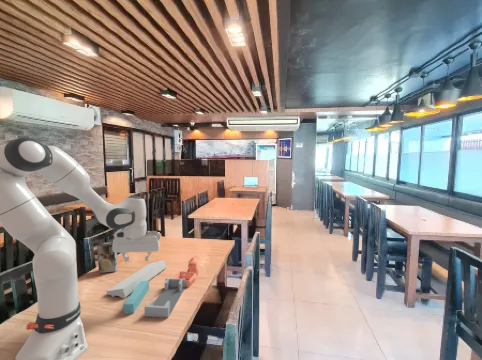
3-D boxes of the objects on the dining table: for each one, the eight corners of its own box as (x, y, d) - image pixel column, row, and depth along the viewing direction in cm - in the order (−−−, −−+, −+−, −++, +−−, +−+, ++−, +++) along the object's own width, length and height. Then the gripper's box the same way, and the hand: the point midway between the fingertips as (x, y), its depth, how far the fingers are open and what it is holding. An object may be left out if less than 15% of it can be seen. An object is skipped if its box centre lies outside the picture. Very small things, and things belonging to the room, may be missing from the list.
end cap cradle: (168, 319, 102) (168, 307, 102) (144, 318, 103) (144, 306, 103) (185, 288, 127) (185, 278, 127) (166, 287, 128) (166, 277, 127)
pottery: (188, 288, 127) (188, 270, 126) (171, 286, 129) (171, 268, 128) (202, 273, 144) (202, 256, 143) (187, 271, 147) (187, 255, 146)
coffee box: (118, 267, 151) (117, 241, 150) (115, 271, 145) (114, 244, 144) (101, 268, 149) (100, 242, 147) (98, 273, 142) (97, 246, 141)
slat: (133, 315, 105) (133, 304, 105) (124, 315, 105) (123, 304, 105) (149, 290, 125) (149, 280, 125) (141, 290, 125) (140, 280, 125)
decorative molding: (109, 300, 119) (125, 298, 116) (106, 291, 119) (122, 288, 116) (152, 270, 152) (166, 268, 149) (150, 262, 152) (164, 260, 149)
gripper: (161, 228, 118) (161, 257, 119) (115, 229, 115) (116, 258, 116) (158, 232, 111) (158, 262, 112) (110, 234, 109) (111, 264, 110)
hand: (137, 260), depth 114 cm, fingers open, 8 cm apart
